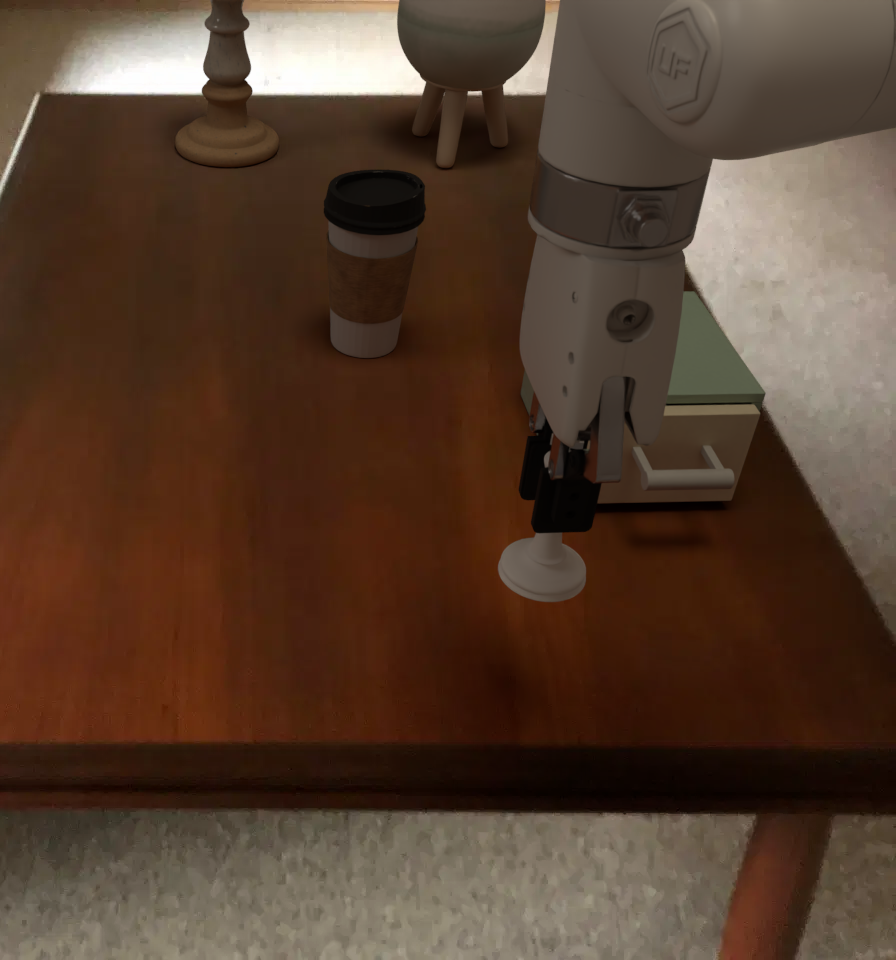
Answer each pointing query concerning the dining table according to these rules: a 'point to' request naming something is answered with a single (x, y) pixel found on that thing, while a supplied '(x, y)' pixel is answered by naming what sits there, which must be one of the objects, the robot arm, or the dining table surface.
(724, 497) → the drawer
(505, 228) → the dining table surface
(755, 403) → the cabinet
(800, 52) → the robot arm
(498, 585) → the dining table surface
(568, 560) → the chess piece
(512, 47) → the planter
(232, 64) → the candle holder
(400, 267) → the coffee cup
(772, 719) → the dining table surface
